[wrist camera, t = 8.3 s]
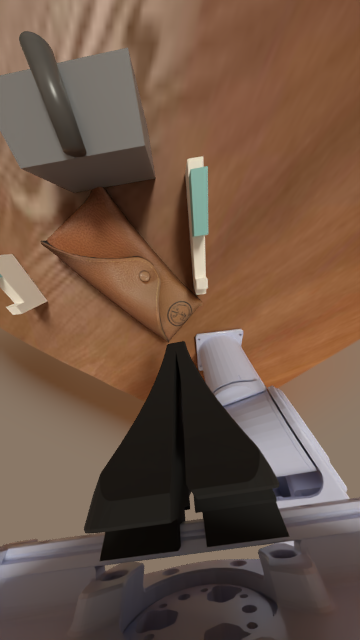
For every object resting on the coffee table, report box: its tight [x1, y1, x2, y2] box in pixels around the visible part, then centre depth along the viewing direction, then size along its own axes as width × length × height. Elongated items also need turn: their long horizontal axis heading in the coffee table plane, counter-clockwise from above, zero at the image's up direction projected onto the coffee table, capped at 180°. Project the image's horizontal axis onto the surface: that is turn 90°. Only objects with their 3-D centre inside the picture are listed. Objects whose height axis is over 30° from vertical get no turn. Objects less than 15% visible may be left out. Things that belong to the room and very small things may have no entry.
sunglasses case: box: [41, 187, 203, 342], centre depth 16 cm, size 18×7×7 cm
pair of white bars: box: [0, 156, 208, 315], centre depth 14 cm, size 11×23×4 cm, turn 97°
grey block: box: [0, 31, 155, 193], centre depth 9 cm, size 3×8×6 cm, turn 98°
